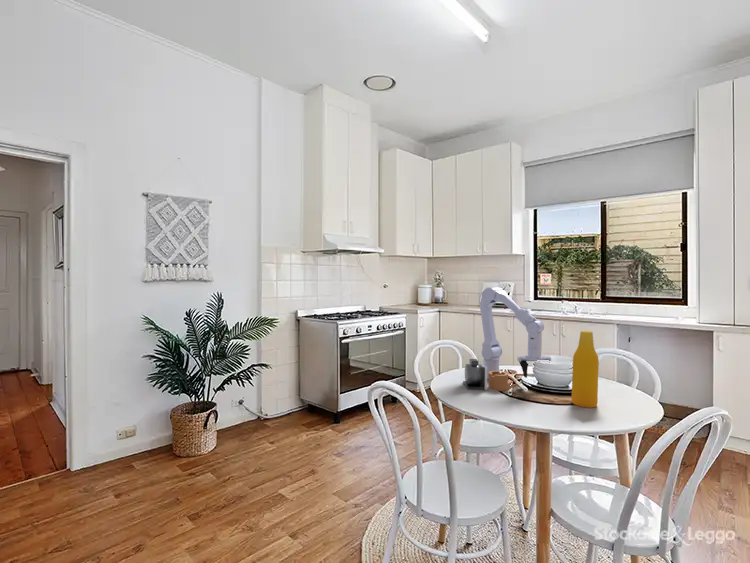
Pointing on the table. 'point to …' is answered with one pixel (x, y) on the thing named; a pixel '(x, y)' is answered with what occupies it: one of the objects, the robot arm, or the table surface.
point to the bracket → (499, 381)
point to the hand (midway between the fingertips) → (533, 377)
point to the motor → (475, 375)
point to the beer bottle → (585, 372)
